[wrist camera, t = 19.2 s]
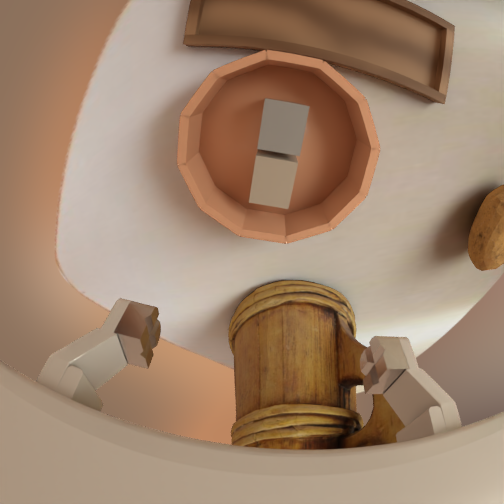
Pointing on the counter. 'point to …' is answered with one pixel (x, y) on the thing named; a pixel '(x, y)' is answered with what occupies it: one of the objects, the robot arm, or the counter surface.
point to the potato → (488, 232)
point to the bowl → (246, 142)
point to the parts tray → (336, 36)
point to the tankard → (301, 372)
